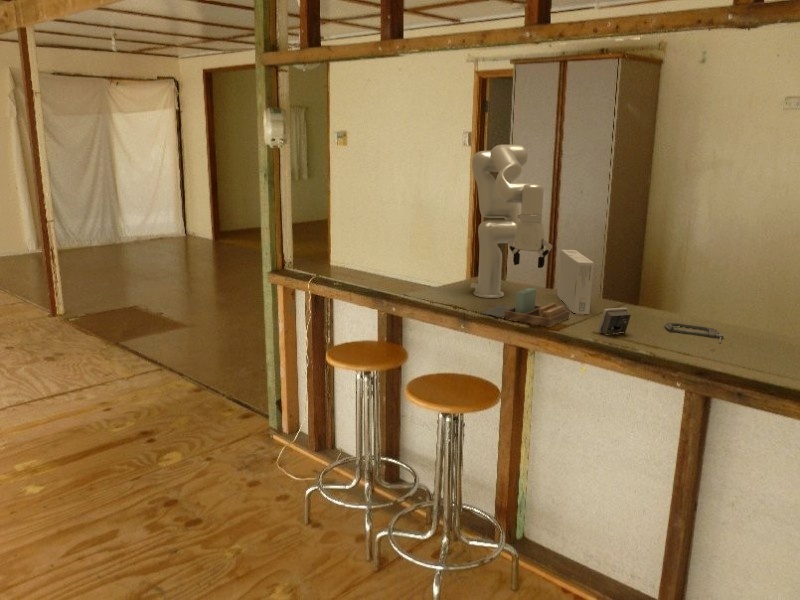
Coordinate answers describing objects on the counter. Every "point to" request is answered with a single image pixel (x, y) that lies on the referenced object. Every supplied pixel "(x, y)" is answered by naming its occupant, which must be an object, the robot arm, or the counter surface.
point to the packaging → (575, 281)
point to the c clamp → (711, 332)
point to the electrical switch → (614, 320)
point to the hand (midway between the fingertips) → (528, 265)
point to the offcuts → (550, 310)
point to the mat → (497, 311)
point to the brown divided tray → (535, 317)
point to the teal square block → (525, 300)
